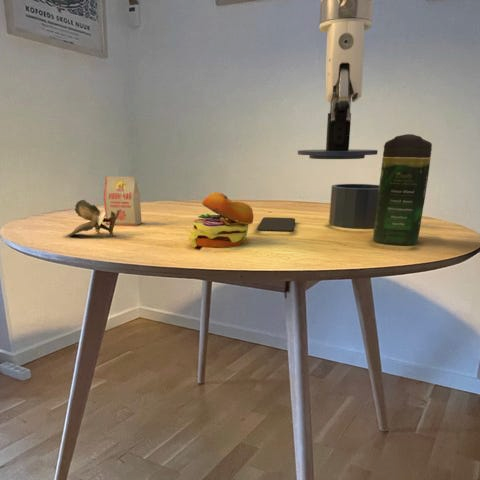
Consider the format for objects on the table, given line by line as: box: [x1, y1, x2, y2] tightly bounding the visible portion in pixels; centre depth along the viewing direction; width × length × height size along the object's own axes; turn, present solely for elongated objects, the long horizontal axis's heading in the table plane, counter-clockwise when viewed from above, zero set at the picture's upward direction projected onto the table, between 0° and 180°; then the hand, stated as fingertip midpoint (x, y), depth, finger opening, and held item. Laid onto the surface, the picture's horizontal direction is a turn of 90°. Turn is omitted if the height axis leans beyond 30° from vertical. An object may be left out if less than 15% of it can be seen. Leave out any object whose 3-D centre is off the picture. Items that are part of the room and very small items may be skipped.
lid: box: [297, 112, 379, 160], centre depth 75 cm, size 13×13×7 cm
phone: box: [256, 216, 296, 233], centre depth 100 cm, size 7×1×15 cm
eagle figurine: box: [67, 199, 119, 237], centre depth 90 cm, size 8×7×9 cm
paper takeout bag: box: [103, 175, 143, 226], centre depth 102 cm, size 4×7×10 cm, turn 80°
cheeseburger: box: [188, 191, 254, 248], centre depth 82 cm, size 10×11×10 cm
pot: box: [328, 183, 379, 230], centre depth 100 cm, size 12×12×8 cm
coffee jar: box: [372, 133, 433, 247], centre depth 82 cm, size 10×8×19 cm
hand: (337, 148), depth 75 cm, fingers closed on lid, 3 cm apart
